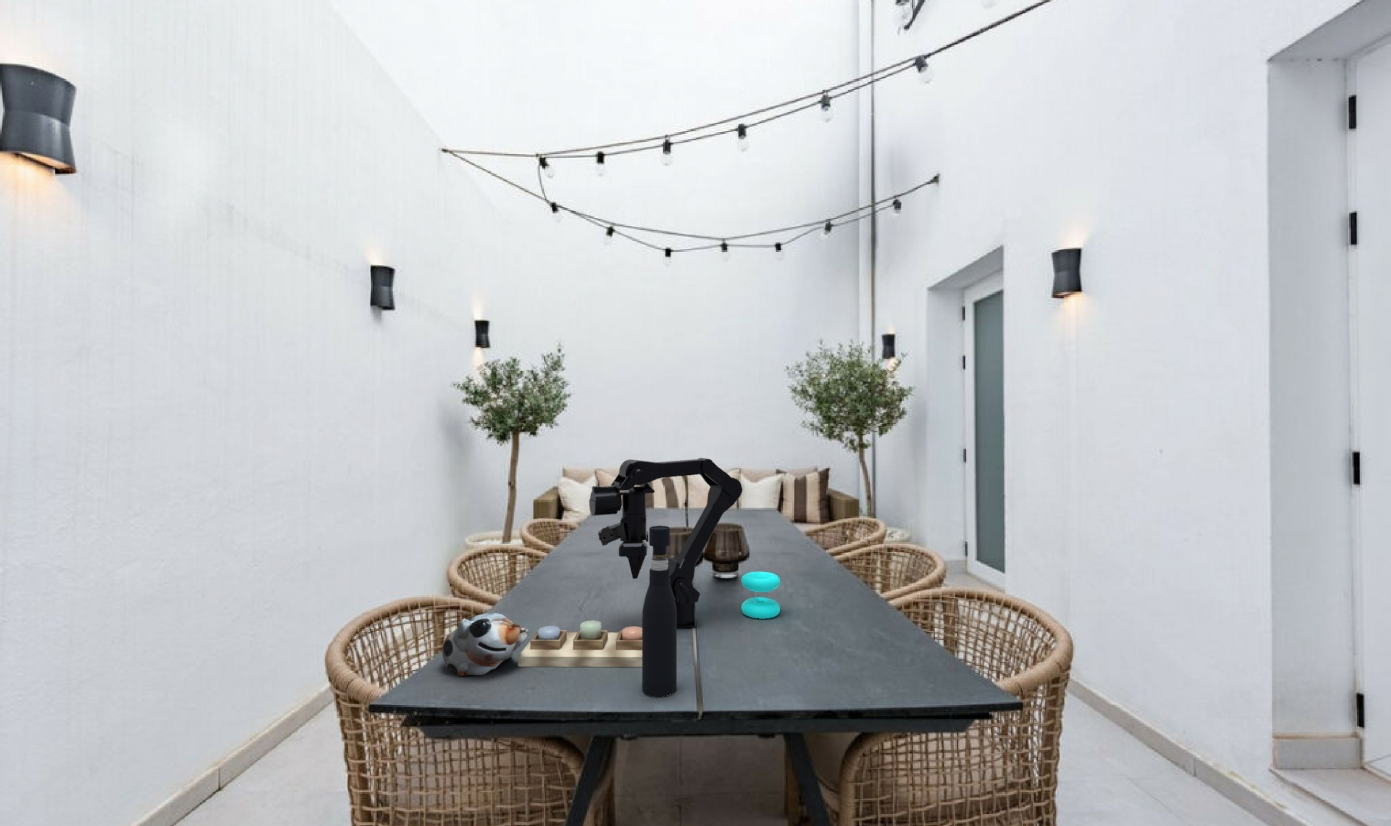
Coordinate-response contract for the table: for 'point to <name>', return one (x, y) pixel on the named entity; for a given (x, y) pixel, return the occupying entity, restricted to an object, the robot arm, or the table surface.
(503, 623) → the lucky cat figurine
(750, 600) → the donuts
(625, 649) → the button board
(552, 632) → the button slate
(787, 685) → the table surface
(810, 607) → the table surface
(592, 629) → the button sage
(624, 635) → the button terracotta
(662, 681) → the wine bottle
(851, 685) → the table surface
